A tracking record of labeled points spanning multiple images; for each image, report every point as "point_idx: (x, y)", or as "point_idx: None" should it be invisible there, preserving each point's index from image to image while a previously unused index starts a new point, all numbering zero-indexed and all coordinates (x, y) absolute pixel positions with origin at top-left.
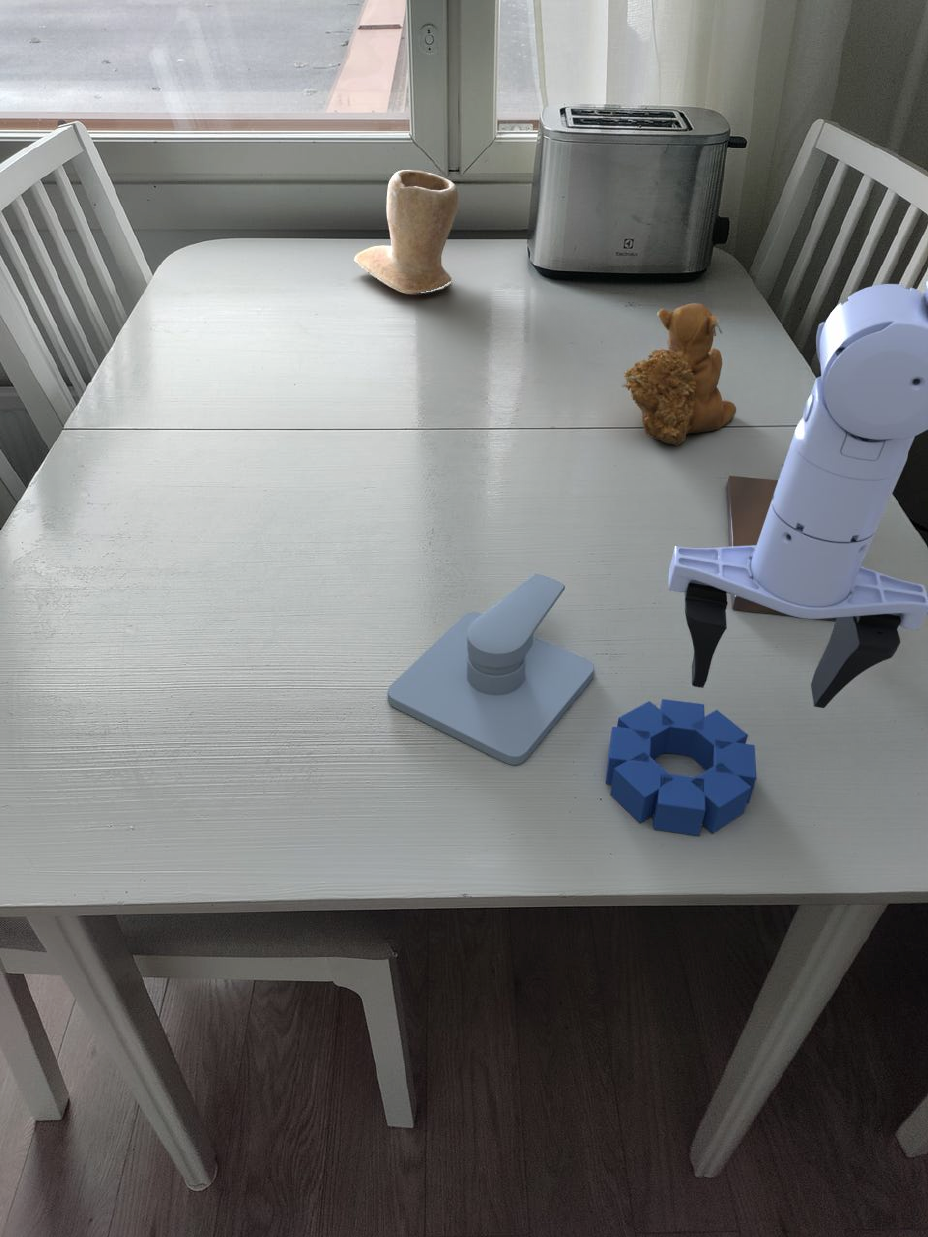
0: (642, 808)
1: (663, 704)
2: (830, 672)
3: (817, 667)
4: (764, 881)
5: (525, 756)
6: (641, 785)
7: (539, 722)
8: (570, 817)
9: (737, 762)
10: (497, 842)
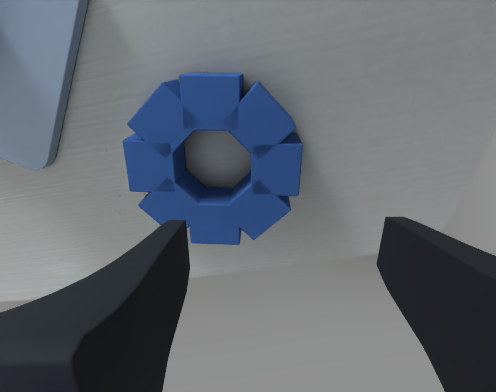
0: None
1: (182, 86)
2: (421, 312)
3: (406, 231)
4: (298, 259)
5: (50, 160)
6: None
7: (44, 112)
8: (121, 218)
9: (278, 176)
10: (66, 251)
